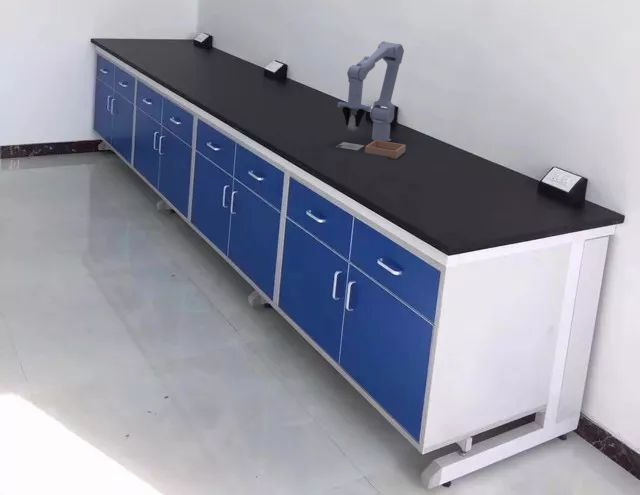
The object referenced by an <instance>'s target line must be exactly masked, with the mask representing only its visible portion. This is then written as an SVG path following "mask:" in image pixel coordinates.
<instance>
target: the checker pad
mask: <svg viewBox="0 0 640 495" xmlns="http://www.w3.org/2000/svg"><path fill="white" fill-rule="evenodd" d="M363 147H365V145H362V144H356V143H351V142H345V141H343V142H341V143H339V144H337V145H336V146H335V148H341V149H346V150H347V149H348V150H354V151H359V150H360V149H361V148H363Z"/></svg>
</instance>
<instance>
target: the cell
mask: <svg viewBox="0 0 640 495" xmlns="http://www.w3.org/2000/svg"><path fill="white" fill-rule="evenodd" d="M356 122H357V112H352V111H351V113H349V120H348V125H347V130H348V131H350V132H356V131H358V127H356Z"/></svg>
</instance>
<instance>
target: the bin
mask: <svg viewBox="0 0 640 495" xmlns="http://www.w3.org/2000/svg"><path fill="white" fill-rule="evenodd" d="M406 146H407V144H402V143H397V142H390V141H378V140H373V141H371V142H370V143H368V144H367V145H364V147H365V148H364V154H371V155H377V156H383V157H387V159H388V160H389V159H390V160H391V159H392V160H398V159H399V158H400V157H401V156H403V155H405V153H406Z"/></svg>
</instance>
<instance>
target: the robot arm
mask: <svg viewBox="0 0 640 495" xmlns="http://www.w3.org/2000/svg"><path fill="white" fill-rule="evenodd" d="M404 53H405V50H404V47H403V45H402V44H401V43H393V42H388V41H381V42H380V43H379V44H378V45H377V49H376V50H375V51H374V52H373V53H372V54H371V55H370V56H368V55H367V56H363V58H362V60H360V61H359V62H357V64H355V65H354V64H353V65H351V66H350V67H348V70H347V72H346V73H347V74H346V75H347V77H348V78H347V79H348V81H347V82H348V83H349V85H348V96H347V98H348V99H347V102H342V101H339V102H337V108H342V109H341V110H342V114H343V116H344V119H345V126H348V120H349V113H352V110H356V113H357V122H356V127H357V128H359V127H360V125H361V124H360V123H361V121H362V119H363V117H364V115H365V113H366V112H370V114H369V116H370V119H371V121H372V122H373V123H372V134H371V140H373V141H375V140H378V141H384V142H390V141H392V138H390V135H391V133H390V132H391V123H392V122H393V121H394V118H395V109H396V107H395V105H394V104H393V103H392V99H393V95H394V94H393V93H394V90H395V85H396V82H397V77H398V72H399V69H400V65H401V64H402V61H403V56H404ZM380 60H383V61H384V62H385V63H386V69H385V73H384V78H383V82H382V86H381V90H380V95H379V98H378V100H376V101H374V102H373V105H372V106H369V105H365V104H362V99H363V98H362V97H363V88H364V86H363V85H364V80H366V78H367V75H368V74H369V72H370V71H371V70H373V69H374V68H375V66H376V63H377V62H379V61H380Z"/></svg>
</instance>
